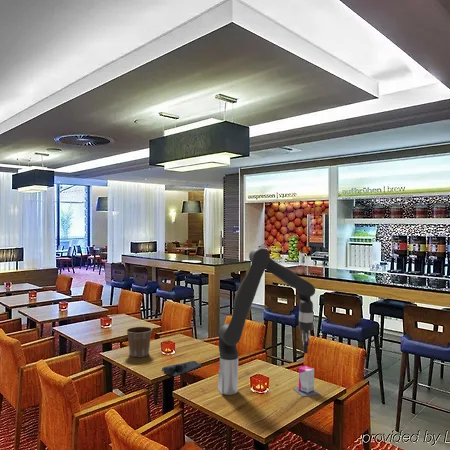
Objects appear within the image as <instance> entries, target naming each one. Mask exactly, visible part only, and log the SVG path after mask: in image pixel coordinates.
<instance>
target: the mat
mask: <svg viewBox="0 0 450 450" xmlns="http://www.w3.org/2000/svg"><path fill="white" fill-rule="evenodd" d="M292 390H293V391H294V392H295V393H297V394H298V395H300V396H301V397H303V398H305V397H311V396H313V397H314V396H319V395H320V396H321V393H320V392H318V391H317V390H316V389H315V388H314V391H313V392H311V393H309V394H307V393H304V392H301V391H299V386H298V387H293V388H292Z"/></svg>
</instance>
